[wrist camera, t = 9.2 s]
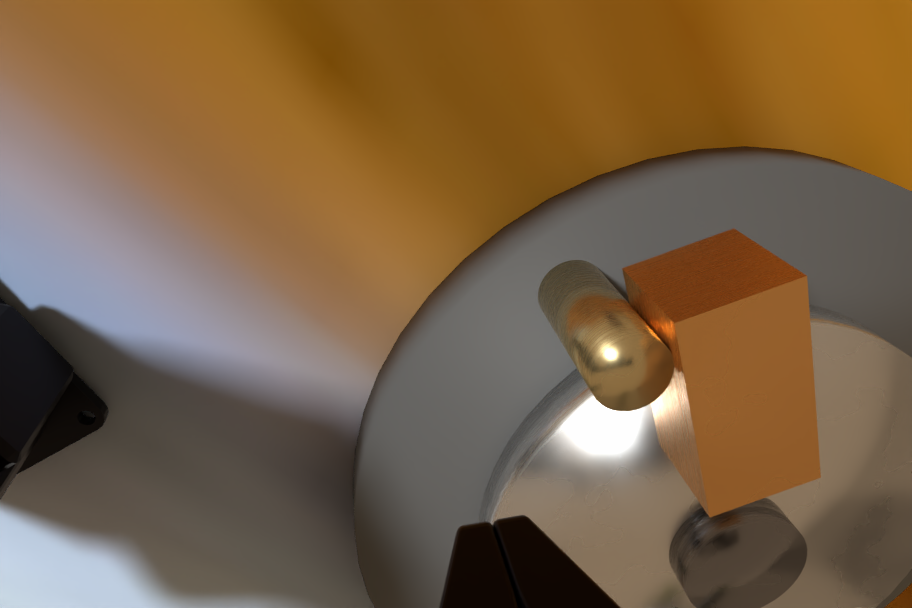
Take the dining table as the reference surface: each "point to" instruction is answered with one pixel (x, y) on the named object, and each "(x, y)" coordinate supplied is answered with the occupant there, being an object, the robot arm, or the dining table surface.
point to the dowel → (605, 337)
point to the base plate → (544, 357)
